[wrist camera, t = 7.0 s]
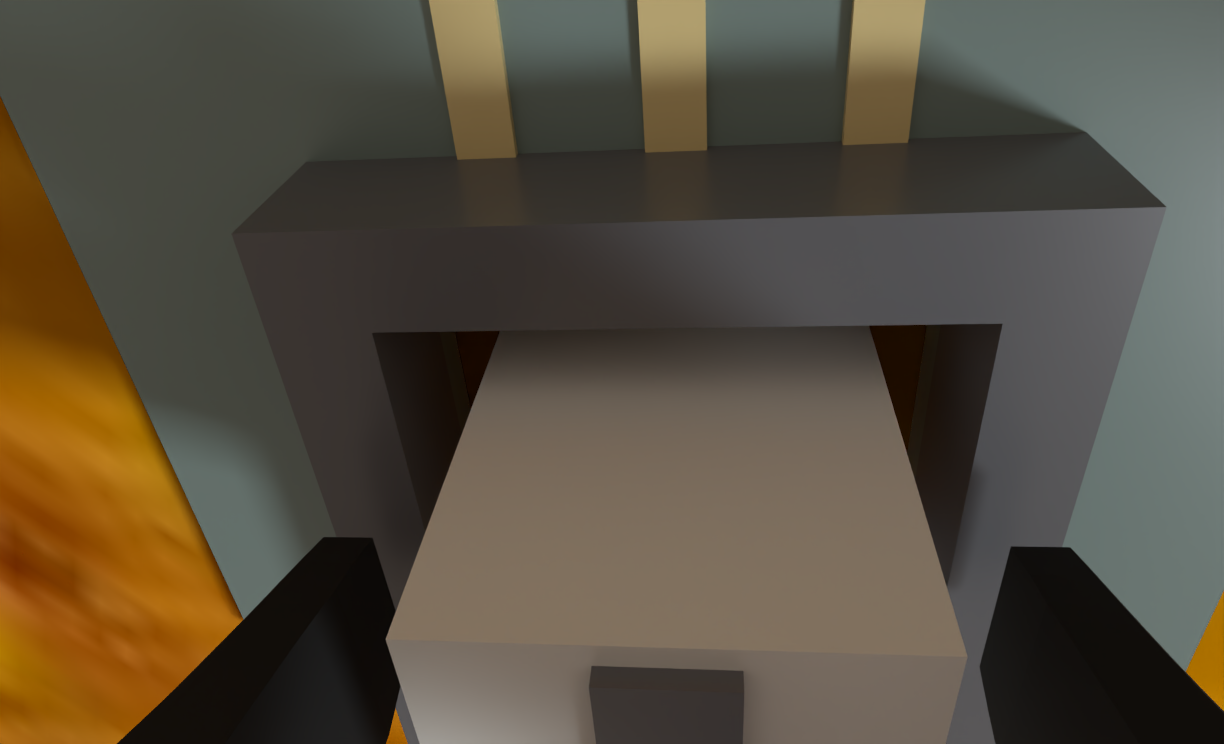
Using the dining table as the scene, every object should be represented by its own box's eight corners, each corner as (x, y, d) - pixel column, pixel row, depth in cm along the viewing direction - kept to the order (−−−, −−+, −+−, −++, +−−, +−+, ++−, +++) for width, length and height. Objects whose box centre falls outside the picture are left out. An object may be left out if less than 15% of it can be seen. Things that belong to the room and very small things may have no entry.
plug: (829, 525, 14) (899, 956, 9) (552, 521, 14) (469, 928, 9) (854, 276, 11) (974, 679, 6) (518, 282, 12) (377, 660, 7)
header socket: (1163, 654, 15) (1277, 874, 12) (274, 630, 17) (180, 815, 14) (1658, -467, 7) (2363, -648, 4) (-126, -279, 9) (-551, -308, 6)
